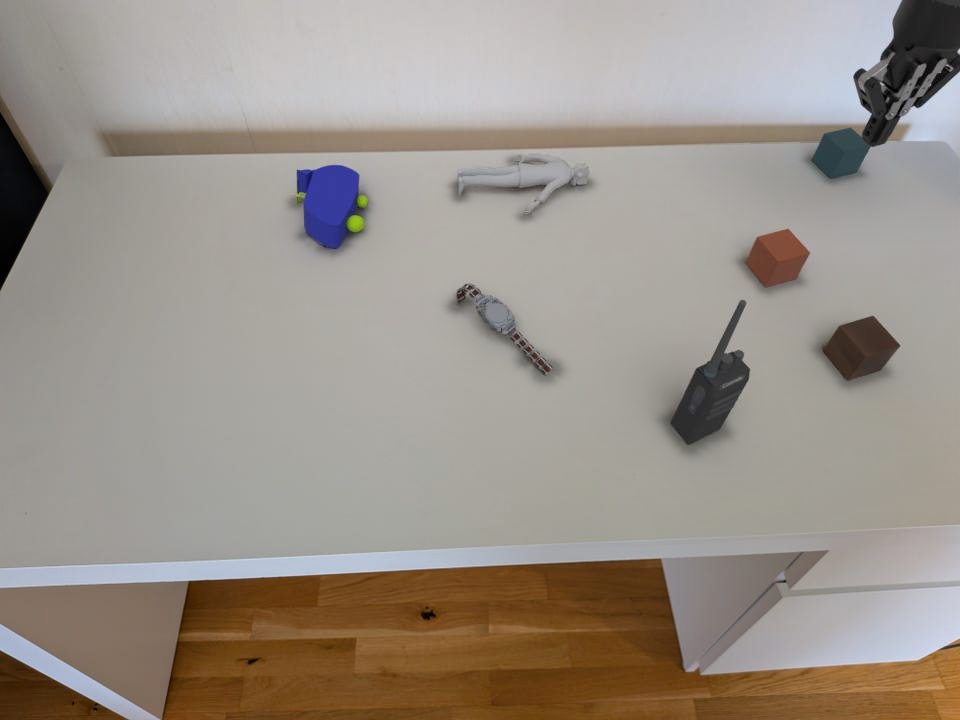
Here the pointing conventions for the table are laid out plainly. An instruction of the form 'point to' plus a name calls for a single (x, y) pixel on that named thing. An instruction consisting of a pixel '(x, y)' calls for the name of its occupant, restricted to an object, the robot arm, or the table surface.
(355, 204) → the toy
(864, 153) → the teal block
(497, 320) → the wristwatch
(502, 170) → the figurine
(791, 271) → the terracotta block
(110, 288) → the table surface
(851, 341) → the walnut block
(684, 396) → the walkie-talkie
